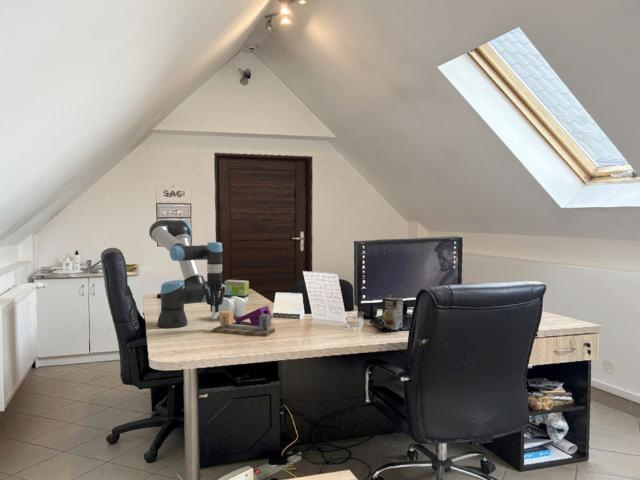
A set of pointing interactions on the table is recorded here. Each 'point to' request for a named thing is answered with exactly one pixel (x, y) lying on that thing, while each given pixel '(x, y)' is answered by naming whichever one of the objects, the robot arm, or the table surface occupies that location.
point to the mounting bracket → (254, 316)
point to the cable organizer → (233, 306)
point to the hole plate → (243, 331)
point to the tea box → (237, 289)
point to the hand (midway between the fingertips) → (214, 318)
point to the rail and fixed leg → (263, 325)
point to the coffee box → (392, 312)
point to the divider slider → (226, 318)
